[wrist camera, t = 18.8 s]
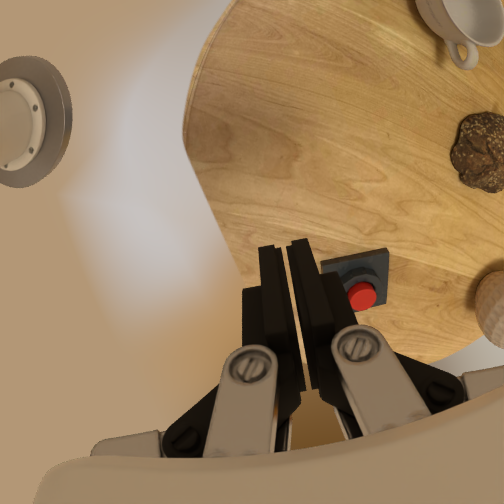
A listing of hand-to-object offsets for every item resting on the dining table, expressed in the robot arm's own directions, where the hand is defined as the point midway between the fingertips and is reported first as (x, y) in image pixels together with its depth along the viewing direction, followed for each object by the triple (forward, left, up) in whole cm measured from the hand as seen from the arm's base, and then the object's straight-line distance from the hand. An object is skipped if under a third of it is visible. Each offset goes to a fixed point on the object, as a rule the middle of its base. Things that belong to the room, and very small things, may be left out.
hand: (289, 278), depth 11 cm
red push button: (+10, -24, -25) cm, 36 cm away
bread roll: (+32, -6, -27) cm, 42 cm away
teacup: (+26, +13, -27) cm, 40 cm away
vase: (+39, -33, -27) cm, 58 cm away
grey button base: (+10, -24, -27) cm, 38 cm away
